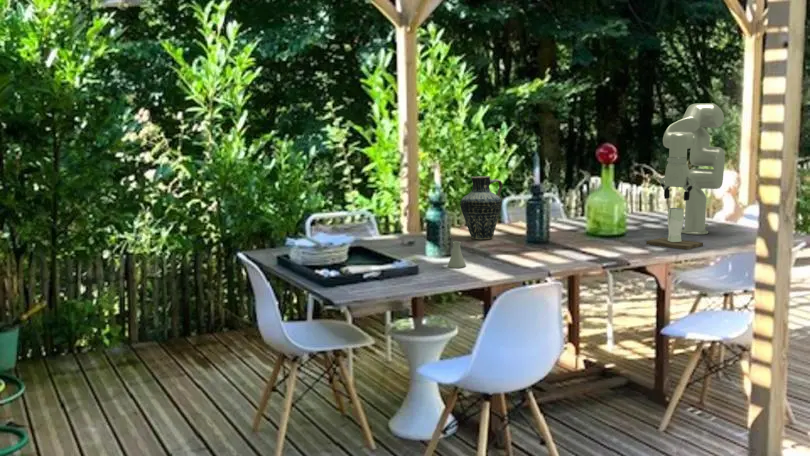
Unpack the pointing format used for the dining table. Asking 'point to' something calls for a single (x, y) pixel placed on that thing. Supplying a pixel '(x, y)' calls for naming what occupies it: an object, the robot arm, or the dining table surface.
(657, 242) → the serving board
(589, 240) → the dining table surface
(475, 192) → the jug
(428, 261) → the dining table surface
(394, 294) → the dining table surface
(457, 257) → the flask
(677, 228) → the beer glass
